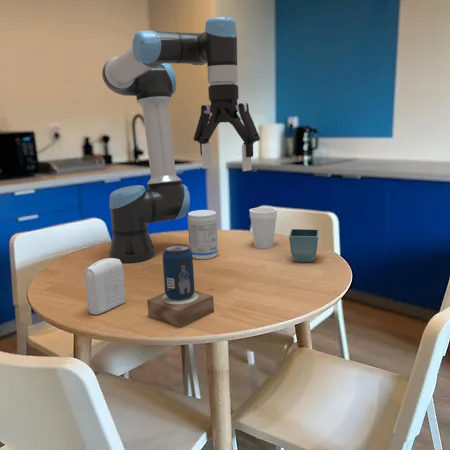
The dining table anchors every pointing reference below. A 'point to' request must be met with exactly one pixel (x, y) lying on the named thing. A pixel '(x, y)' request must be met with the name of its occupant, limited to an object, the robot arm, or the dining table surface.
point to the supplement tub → (203, 234)
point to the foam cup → (263, 226)
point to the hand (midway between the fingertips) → (226, 169)
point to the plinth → (180, 308)
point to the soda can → (178, 272)
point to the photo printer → (104, 285)
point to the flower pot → (303, 244)
